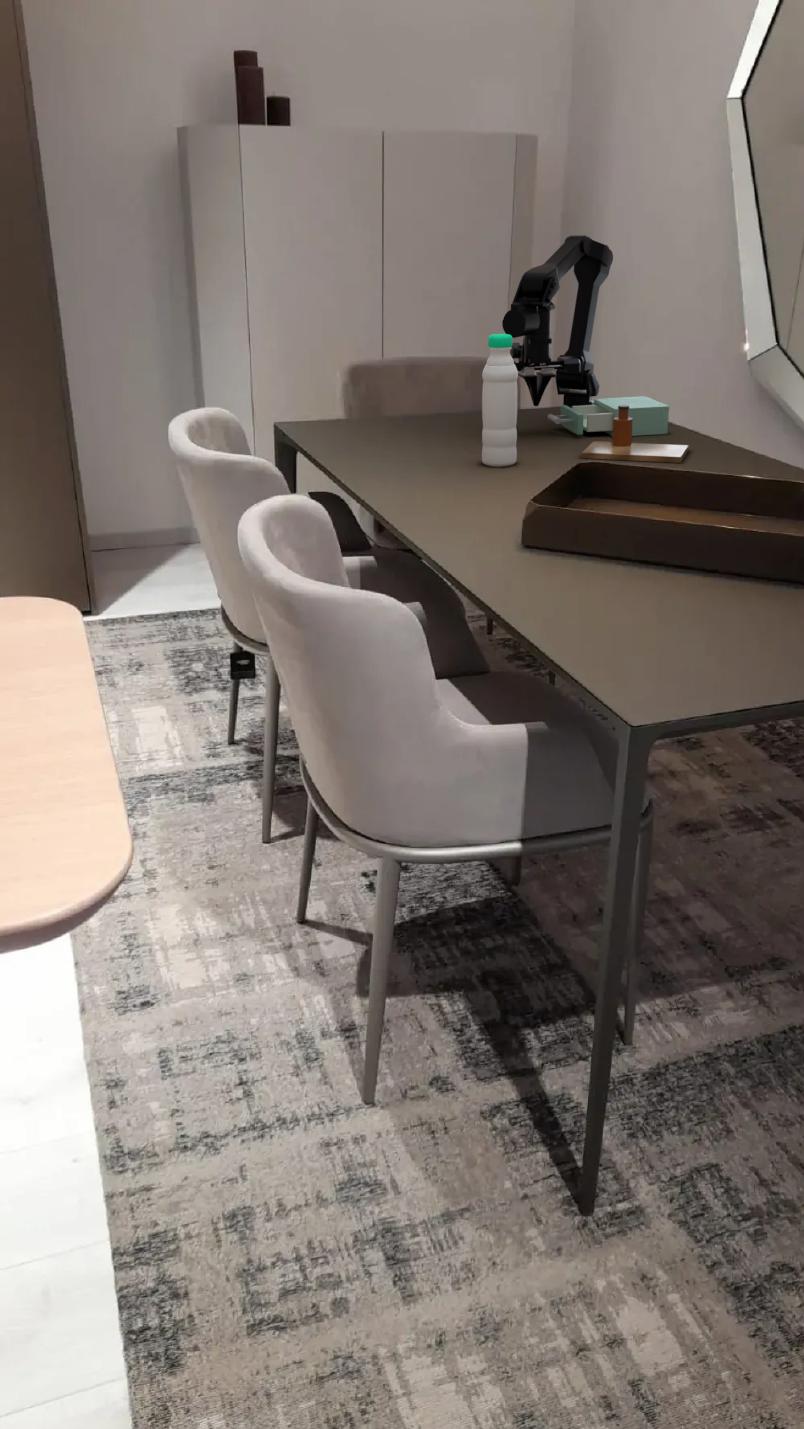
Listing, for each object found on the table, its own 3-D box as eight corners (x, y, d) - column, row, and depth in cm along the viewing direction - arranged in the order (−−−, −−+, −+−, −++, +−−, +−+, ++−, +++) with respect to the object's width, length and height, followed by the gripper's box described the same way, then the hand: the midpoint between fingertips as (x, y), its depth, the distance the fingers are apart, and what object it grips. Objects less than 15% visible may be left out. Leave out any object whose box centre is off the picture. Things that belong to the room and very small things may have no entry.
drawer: (559, 435, 244) (560, 416, 243) (542, 425, 256) (543, 406, 255) (627, 431, 246) (628, 412, 245) (607, 421, 258) (608, 402, 257)
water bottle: (514, 467, 220) (516, 336, 210) (479, 467, 222) (479, 336, 211) (518, 460, 226) (520, 332, 216) (484, 459, 228) (484, 332, 217)
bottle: (610, 446, 231) (612, 407, 228) (613, 442, 234) (616, 404, 231) (629, 447, 230) (631, 407, 226) (632, 443, 233) (635, 404, 230)
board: (581, 458, 227) (581, 452, 226) (593, 446, 237) (593, 441, 236) (680, 463, 220) (680, 457, 220) (688, 451, 230) (688, 445, 230)
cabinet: (613, 437, 246) (615, 409, 243) (592, 425, 259) (594, 399, 256) (667, 433, 248) (669, 406, 245) (644, 422, 261) (645, 396, 258)
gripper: (567, 327, 249) (565, 398, 256) (487, 331, 247) (487, 402, 254) (582, 332, 239) (580, 405, 246) (499, 336, 237) (498, 410, 244)
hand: (535, 406), depth 248 cm, fingers closed
